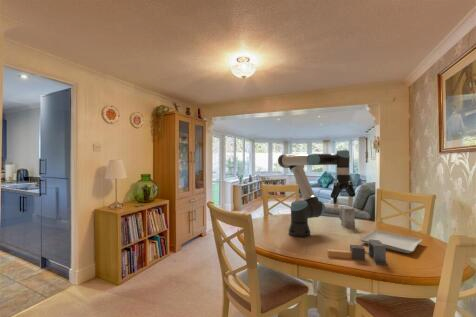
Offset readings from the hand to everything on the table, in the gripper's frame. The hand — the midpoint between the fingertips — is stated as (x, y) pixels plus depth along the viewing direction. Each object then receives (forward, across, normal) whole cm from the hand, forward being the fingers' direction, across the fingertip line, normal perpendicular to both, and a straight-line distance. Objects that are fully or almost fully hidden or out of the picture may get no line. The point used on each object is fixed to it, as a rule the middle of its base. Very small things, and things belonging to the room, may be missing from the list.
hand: (343, 207), depth 144 cm
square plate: (+23, +24, -15) cm, 37 cm away
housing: (+22, -5, -24) cm, 33 cm away
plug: (+22, -16, -15) cm, 32 cm away
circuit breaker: (+23, +36, +26) cm, 50 cm away
